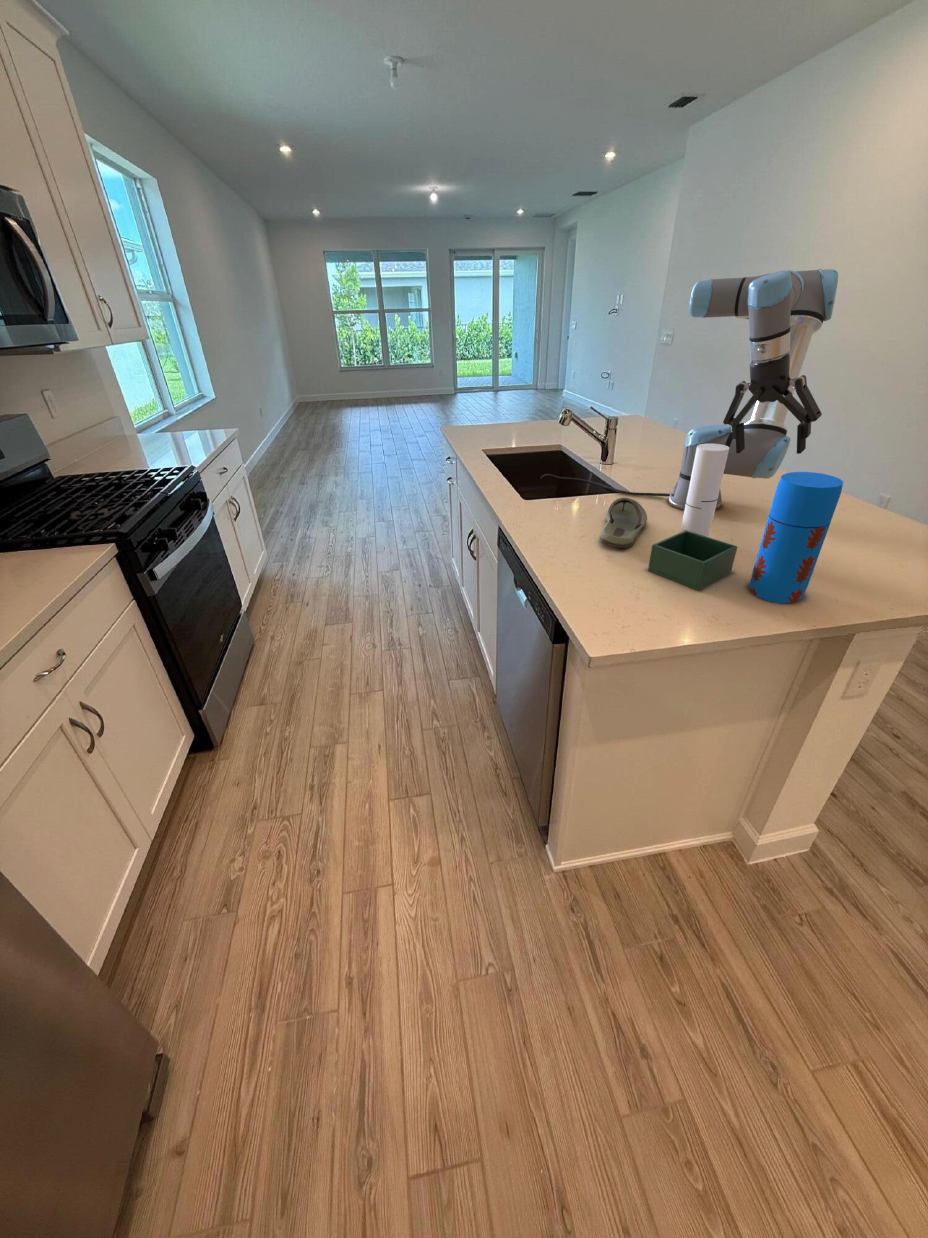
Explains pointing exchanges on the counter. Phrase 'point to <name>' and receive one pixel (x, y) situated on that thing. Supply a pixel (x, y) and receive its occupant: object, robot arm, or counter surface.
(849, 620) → the counter surface
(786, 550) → the thermos
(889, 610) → the counter surface
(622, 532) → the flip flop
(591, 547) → the counter surface
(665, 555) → the tray
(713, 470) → the cylindrical container
